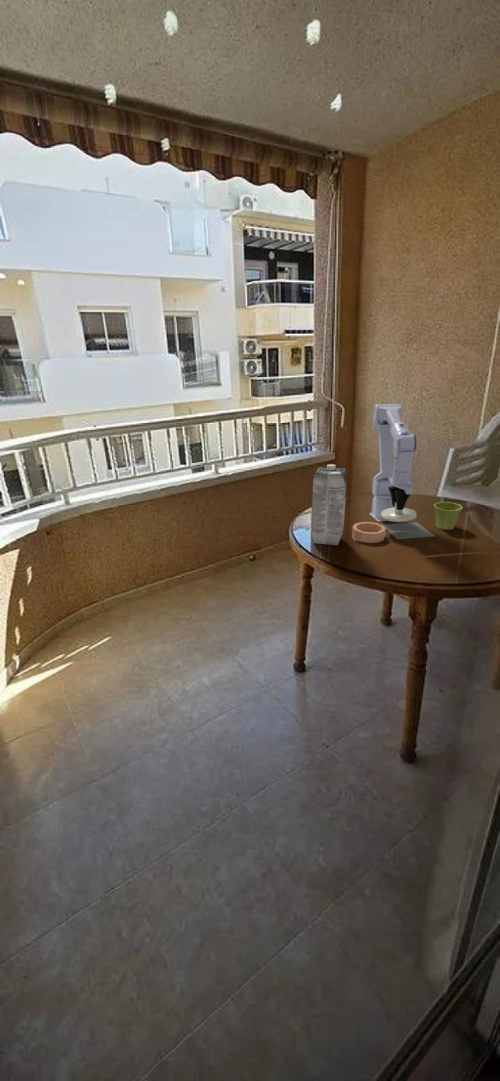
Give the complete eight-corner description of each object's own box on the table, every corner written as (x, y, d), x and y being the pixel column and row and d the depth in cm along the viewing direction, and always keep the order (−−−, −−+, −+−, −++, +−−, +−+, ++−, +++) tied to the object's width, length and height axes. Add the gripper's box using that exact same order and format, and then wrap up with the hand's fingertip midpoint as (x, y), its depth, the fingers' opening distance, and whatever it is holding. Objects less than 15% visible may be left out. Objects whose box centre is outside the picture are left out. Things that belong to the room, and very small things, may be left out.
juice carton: (340, 547, 149) (344, 470, 139) (310, 544, 152) (312, 468, 142) (343, 537, 157) (348, 463, 146) (314, 534, 160) (317, 462, 149)
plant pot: (461, 533, 157) (465, 510, 154) (433, 532, 159) (436, 509, 156) (455, 524, 166) (459, 502, 162) (429, 523, 168) (432, 501, 164)
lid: (375, 512, 161) (375, 499, 159) (406, 508, 162) (407, 495, 160) (389, 523, 150) (390, 510, 148) (422, 518, 151) (423, 505, 149)
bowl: (348, 533, 161) (348, 523, 159) (377, 531, 162) (378, 521, 160) (358, 545, 151) (359, 534, 149) (389, 542, 152) (390, 532, 150)
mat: (381, 526, 166) (381, 524, 166) (416, 523, 167) (416, 522, 167) (396, 540, 153) (397, 538, 153) (434, 537, 154) (435, 536, 154)
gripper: (423, 475, 143) (418, 513, 149) (403, 465, 157) (399, 501, 162) (403, 476, 143) (398, 515, 148) (384, 466, 156) (381, 502, 161)
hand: (397, 508), depth 155 cm, fingers closed on lid, 3 cm apart
